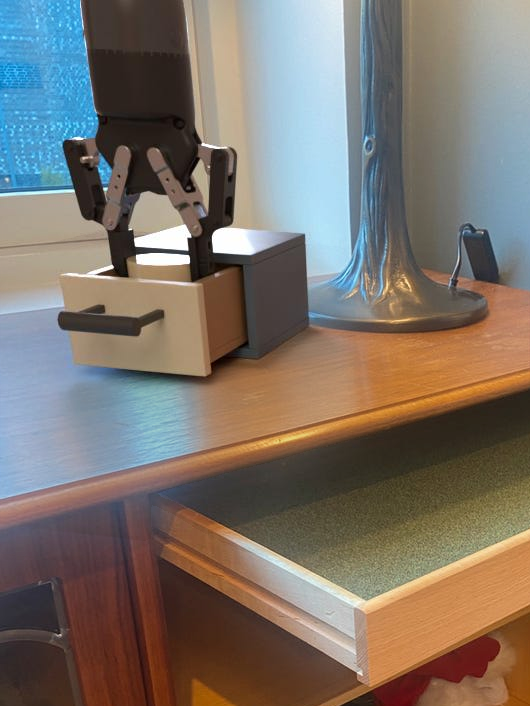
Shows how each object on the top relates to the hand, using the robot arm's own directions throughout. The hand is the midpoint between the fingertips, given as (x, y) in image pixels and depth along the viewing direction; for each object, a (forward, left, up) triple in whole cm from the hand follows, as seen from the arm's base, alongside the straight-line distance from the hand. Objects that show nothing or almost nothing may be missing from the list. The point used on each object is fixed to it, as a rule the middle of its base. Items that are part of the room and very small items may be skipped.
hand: (164, 279), depth 81 cm
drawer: (0, -3, -6) cm, 7 cm away
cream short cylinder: (0, 0, -1) cm, 1 cm away
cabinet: (0, +11, -7) cm, 13 cm away
